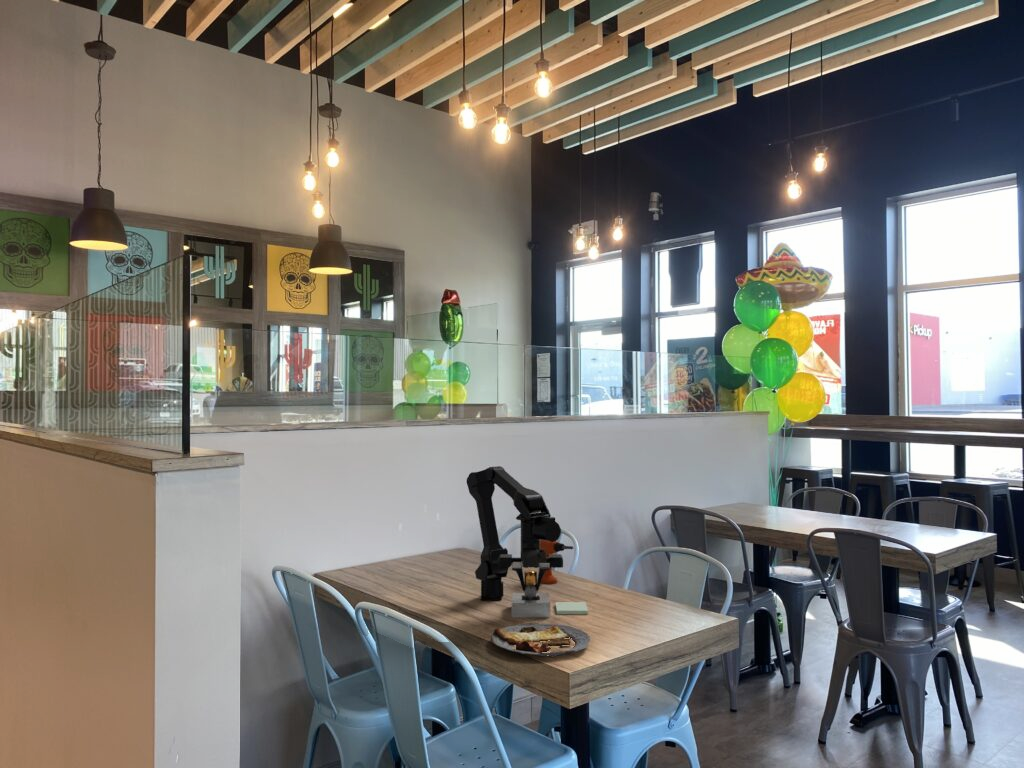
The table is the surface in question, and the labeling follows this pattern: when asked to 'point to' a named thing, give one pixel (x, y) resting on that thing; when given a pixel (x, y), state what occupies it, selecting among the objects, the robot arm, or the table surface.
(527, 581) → the gold and grey cylinder
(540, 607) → the block
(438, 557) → the table surface
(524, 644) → the food plate
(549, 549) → the toy drill
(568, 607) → the green mat
